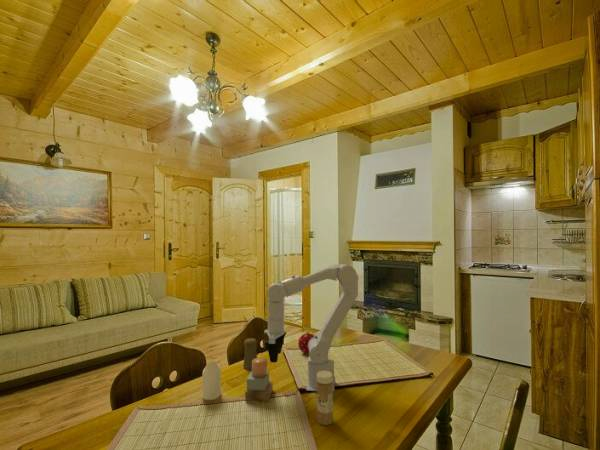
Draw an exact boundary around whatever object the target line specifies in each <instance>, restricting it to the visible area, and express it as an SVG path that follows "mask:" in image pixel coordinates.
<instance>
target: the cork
mask: <svg viewBox="0 0 600 450" xmlns="http://www.w3.org/2000/svg"><path fill="white" fill-rule="evenodd" d="M257 344H258V342H257V339H255V338H252V337H251V338H250V337H249V338H246V339H245V340H244V342H243V346H244V348H245V350H244V357H243V358H244V359H243V366H242V367H243V369H244V370H246V371H252V360H253V359H255V358H258V355H257Z"/></svg>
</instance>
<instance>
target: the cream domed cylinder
mask: <svg viewBox="0 0 600 450" xmlns="http://www.w3.org/2000/svg"><path fill="white" fill-rule="evenodd" d="M201 379H202V383H201V384H202V385H201V386H202V399H203V400H205V401H214V400H216V399H218V398H219V397H221V395H222V388H221V387H222V385H221V384H222V383H221V381H222V370H221V366H220V365H219V364H218V362H216V361H215V360H213V361H212V360H209V361H207V362H206V365H205V367H204V368H203V370H202V378H201Z"/></svg>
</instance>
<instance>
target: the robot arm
mask: <svg viewBox="0 0 600 450" xmlns="http://www.w3.org/2000/svg"><path fill="white" fill-rule="evenodd" d="M325 280H331V281H335V282H336V281H338V282H339V285H340V288H341V290H342V291H341V292H342V293H341V295H340V296H339V298H338V299H337V301H336V303H335V304H334V306H333V308H332V310H331V312H330V313H329V315H328V317H327V318H326V320H325V322H324V323H323V326H322V327H321V329H320V330H319V331H318V332H317V333H316V334H315V335H314V337H313V338H312V339H310V341H309V343H308V349H309V354H308V355H309V356H308V357H307V382H306V387H308V388H306V387H305V389H306V390H305V391H307V392H318V390H317V373H318V372H319V371H329V372H331V373H332V375H333V381H332V392H333V393H334V392H335V383H336V376H335V360H332V359H329V351H330V349H331V346H332V342H333V339H334V338H335V335H336V334H337V332H338V330H339V328H340V327H341V325H342V323H343V322H344V320H345V318H346V317H347V315H348V313H349V312H350V310H351V308H352V307H353V305H354V302H356V299H357V298H358V295H359V275H358V273H357V272H356V269H355V268H354V267H353V266H351V265H349V264H348V263H345V262H341V263H338V264H333V265H331V266H330V265H329V266H327V267H324V268H322V269H319V270H317V271H315V272H313V273H312V272H311V273H310V274H308V275H304V276H301V275H299V274H297V275H295V274H293V275H291V277H290V278H287V279H284V280H281V279H280V280H278V282H274V283H271V284H270V286H269V287H268V290H267V294H266V295H267V298H268V300H267V303H268V305H267V329H265V330H264V331H263V332H264V333H263V334H267V336H268V340H267V339H266V340H265V341H264V346H265V347H266V350H267V353H268V357H269V362H270V363H278V359H279V354H281V353H282V349H283V344H284V339H285V337H286V335H287V332H286V330H285V303H284V298H285V297H287V298H288V297H291V296H293V295H295V294H298V293H300V292H303V291H305V289H306V287H307V286H310V285H313V284H315V283H320V282H322V281H325Z"/></svg>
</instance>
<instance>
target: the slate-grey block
mask: <svg viewBox="0 0 600 450" xmlns="http://www.w3.org/2000/svg"><path fill="white" fill-rule="evenodd" d="M269 381H270V373H269V371H268V370H267V375H266V376H264V377H260V378H258V377H253V376H252V370H250V373H249V374H248V376H247V378H246V389H247V390H260V391H265V390H266V387H267V385H268V383H269Z"/></svg>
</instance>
